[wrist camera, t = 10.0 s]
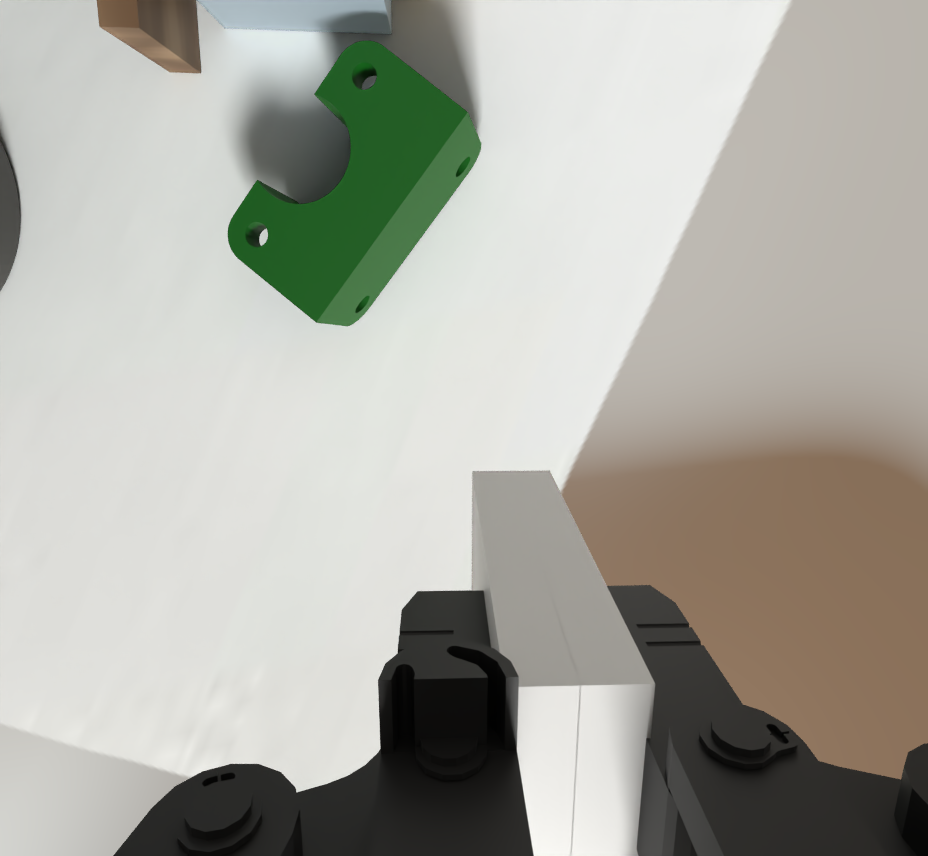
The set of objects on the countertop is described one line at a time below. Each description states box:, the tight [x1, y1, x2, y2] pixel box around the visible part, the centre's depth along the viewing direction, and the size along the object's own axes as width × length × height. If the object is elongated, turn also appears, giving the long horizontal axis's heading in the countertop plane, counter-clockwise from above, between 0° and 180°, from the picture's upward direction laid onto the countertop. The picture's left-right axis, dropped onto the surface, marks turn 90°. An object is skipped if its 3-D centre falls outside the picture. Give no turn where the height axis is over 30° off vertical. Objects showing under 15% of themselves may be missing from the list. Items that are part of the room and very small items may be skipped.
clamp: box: [228, 41, 481, 326], centre depth 32 cm, size 12×6×9 cm
